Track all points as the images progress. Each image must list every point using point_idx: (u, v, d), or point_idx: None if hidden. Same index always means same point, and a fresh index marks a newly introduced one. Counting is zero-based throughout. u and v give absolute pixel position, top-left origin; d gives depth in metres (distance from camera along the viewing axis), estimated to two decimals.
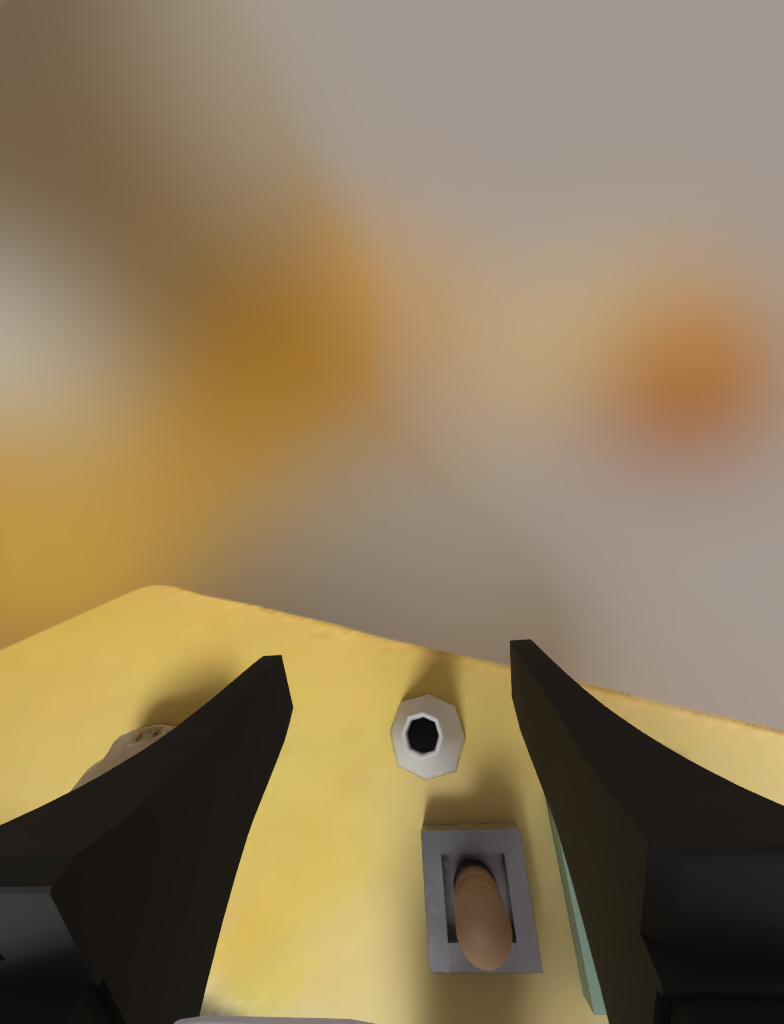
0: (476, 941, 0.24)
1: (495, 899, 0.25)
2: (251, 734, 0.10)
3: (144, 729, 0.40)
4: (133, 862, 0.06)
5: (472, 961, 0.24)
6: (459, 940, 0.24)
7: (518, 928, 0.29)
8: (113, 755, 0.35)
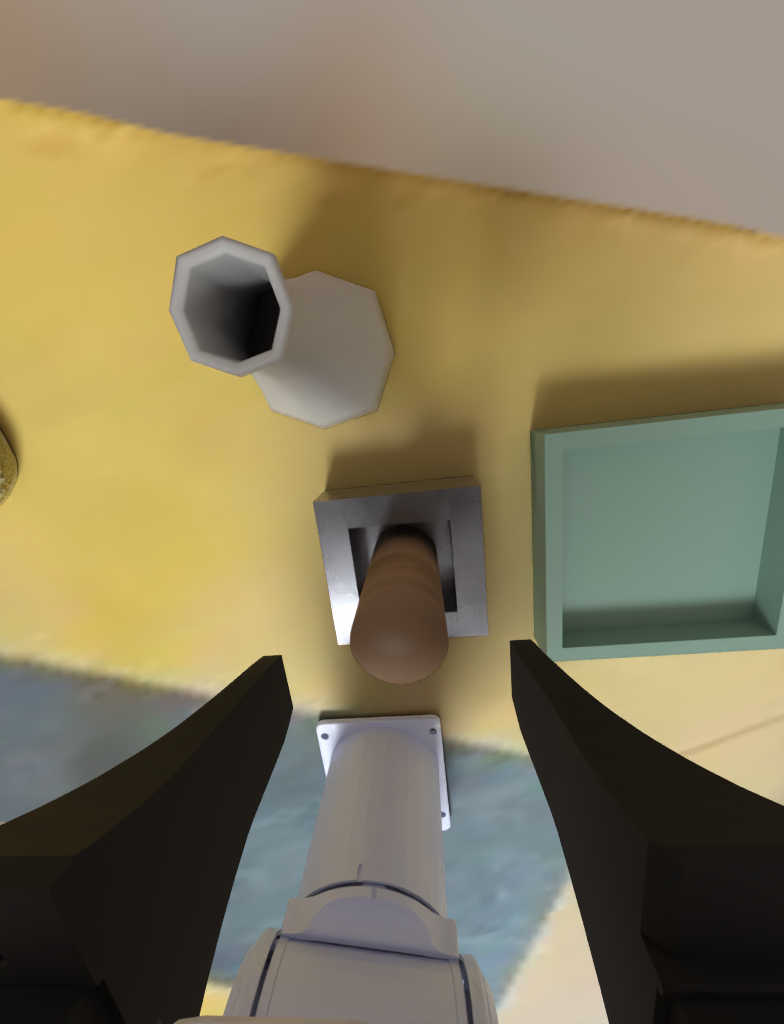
0: (385, 655, 0.14)
1: (422, 603, 0.13)
2: (251, 734, 0.10)
3: None
4: (133, 862, 0.06)
5: (378, 675, 0.14)
6: (356, 655, 0.14)
7: (461, 598, 0.20)
8: None
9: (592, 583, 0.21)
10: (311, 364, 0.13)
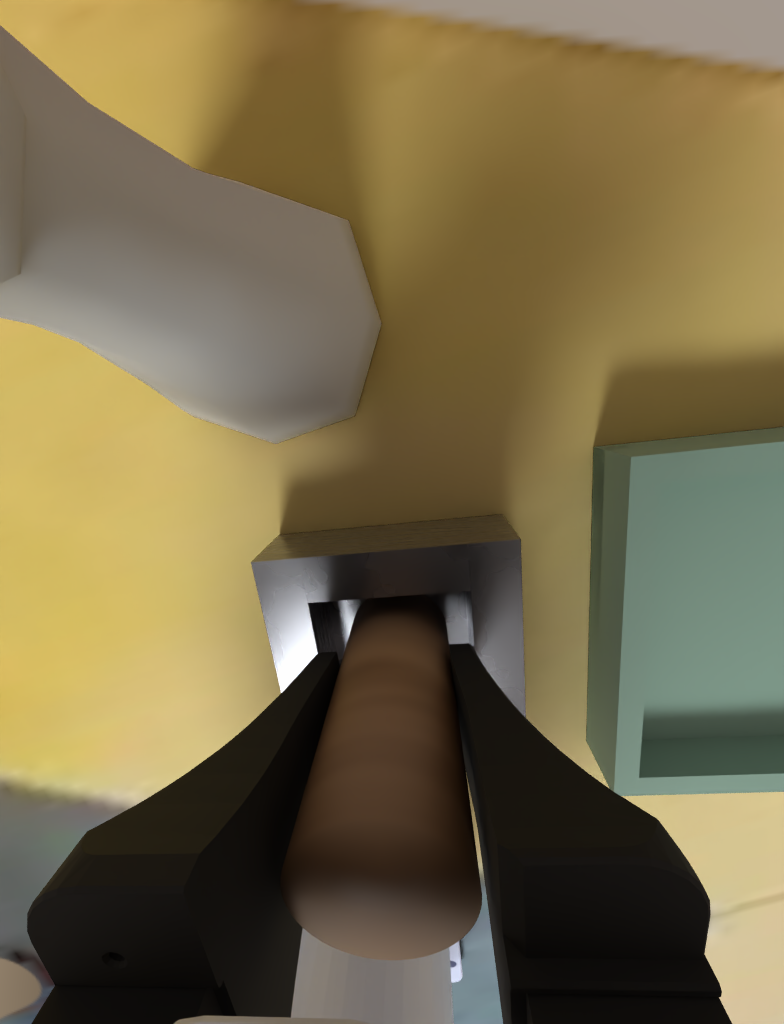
0: (354, 914, 0.07)
1: (428, 832, 0.06)
2: (318, 731, 0.10)
3: None
4: (240, 861, 0.06)
5: (340, 945, 0.07)
6: (295, 911, 0.07)
7: None
8: None
9: (681, 675, 0.14)
10: (189, 322, 0.06)
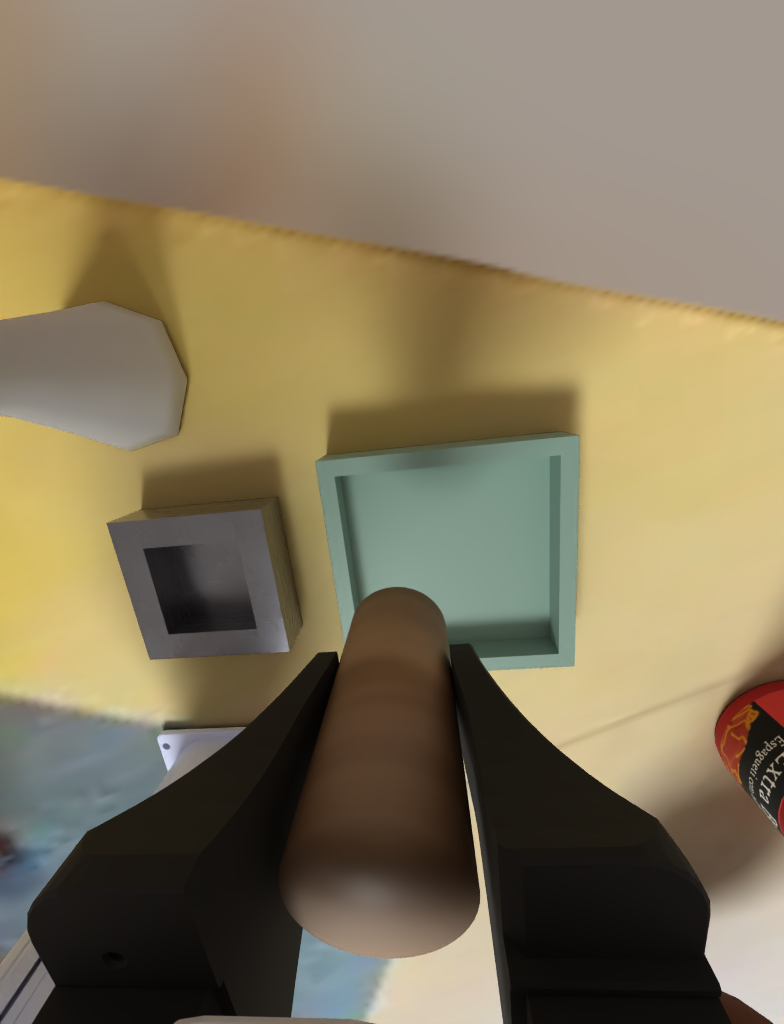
0: (351, 912, 0.07)
1: (426, 830, 0.06)
2: (318, 731, 0.10)
3: None
4: (240, 861, 0.06)
5: (338, 943, 0.07)
6: (293, 909, 0.07)
7: (259, 616, 0.20)
8: None
9: None
10: (22, 400, 0.14)
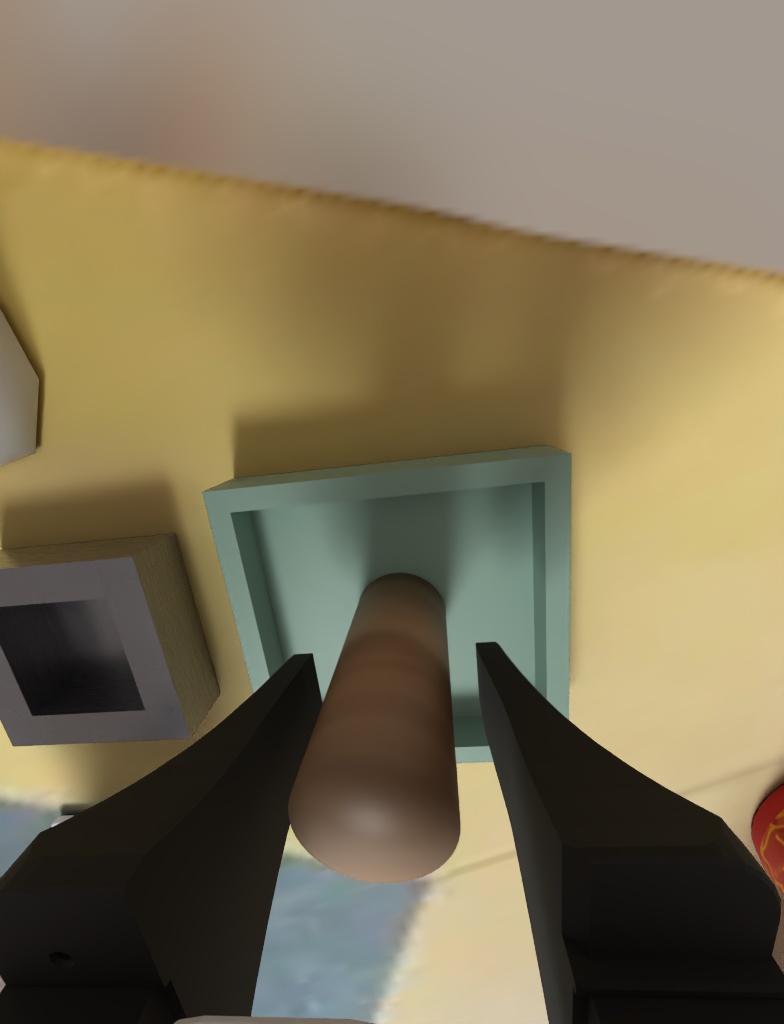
0: (350, 839, 0.08)
1: (413, 765, 0.07)
2: (289, 732, 0.10)
3: None
4: (192, 862, 0.06)
5: (339, 868, 0.08)
6: (301, 835, 0.08)
7: (146, 694, 0.15)
8: None
9: (334, 668, 0.16)
10: None
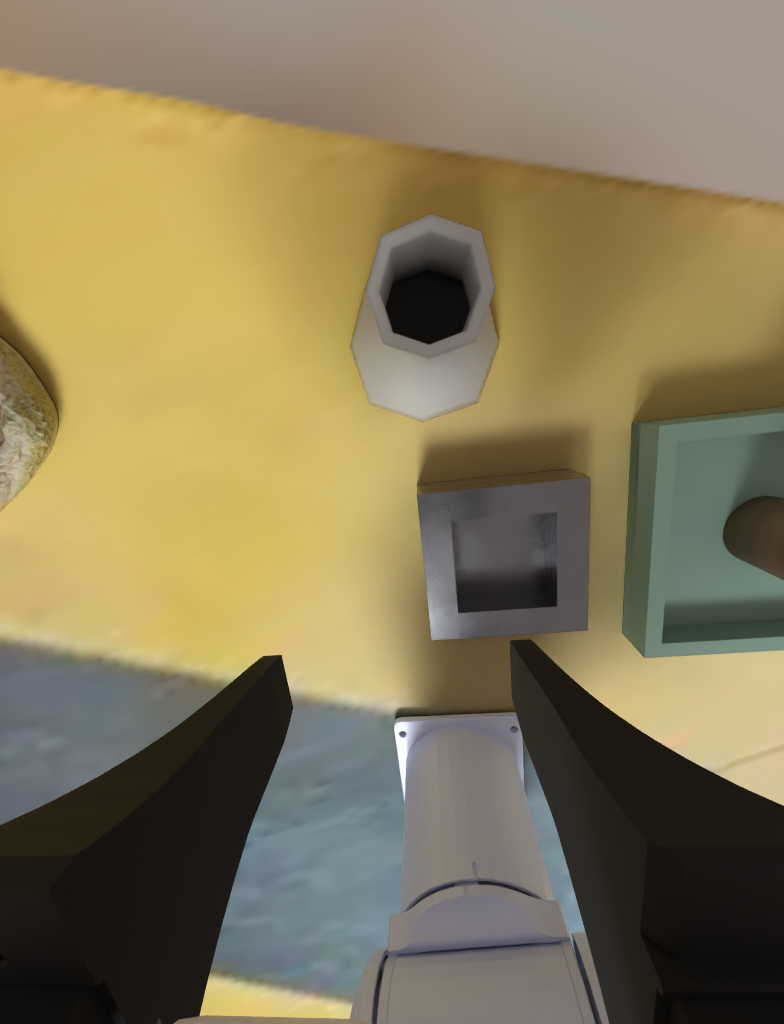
0: None
1: None
2: (252, 734, 0.10)
3: None
4: (133, 862, 0.06)
5: None
6: None
7: (562, 592, 0.19)
8: None
9: (689, 578, 0.21)
10: (460, 350, 0.13)
